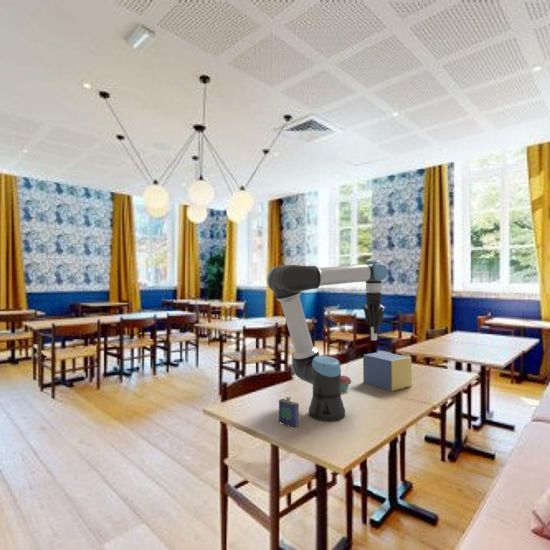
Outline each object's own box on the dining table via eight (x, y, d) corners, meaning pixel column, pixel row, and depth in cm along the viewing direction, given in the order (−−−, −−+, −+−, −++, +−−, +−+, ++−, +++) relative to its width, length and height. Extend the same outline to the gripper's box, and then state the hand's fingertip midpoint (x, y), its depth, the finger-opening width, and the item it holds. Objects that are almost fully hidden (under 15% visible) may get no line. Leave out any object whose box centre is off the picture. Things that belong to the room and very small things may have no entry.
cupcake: (331, 390, 190) (331, 367, 190) (337, 386, 198) (337, 363, 198) (348, 393, 186) (348, 368, 186) (353, 388, 194) (353, 365, 194)
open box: (390, 390, 190) (390, 360, 190) (363, 382, 205) (363, 354, 205) (409, 385, 198) (409, 357, 198) (382, 378, 213) (381, 351, 213)
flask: (300, 426, 146) (299, 398, 146) (295, 428, 143) (295, 400, 144) (281, 420, 152) (281, 393, 152) (276, 422, 149) (276, 395, 149)
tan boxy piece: (392, 390, 189) (392, 360, 189) (366, 382, 203) (366, 355, 203) (411, 385, 197) (411, 357, 197) (385, 378, 211) (384, 351, 211)
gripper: (389, 292, 182) (389, 341, 182) (368, 291, 193) (369, 337, 192) (378, 292, 178) (379, 342, 177) (358, 291, 188) (358, 339, 188)
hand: (374, 340), depth 185 cm, fingers closed
